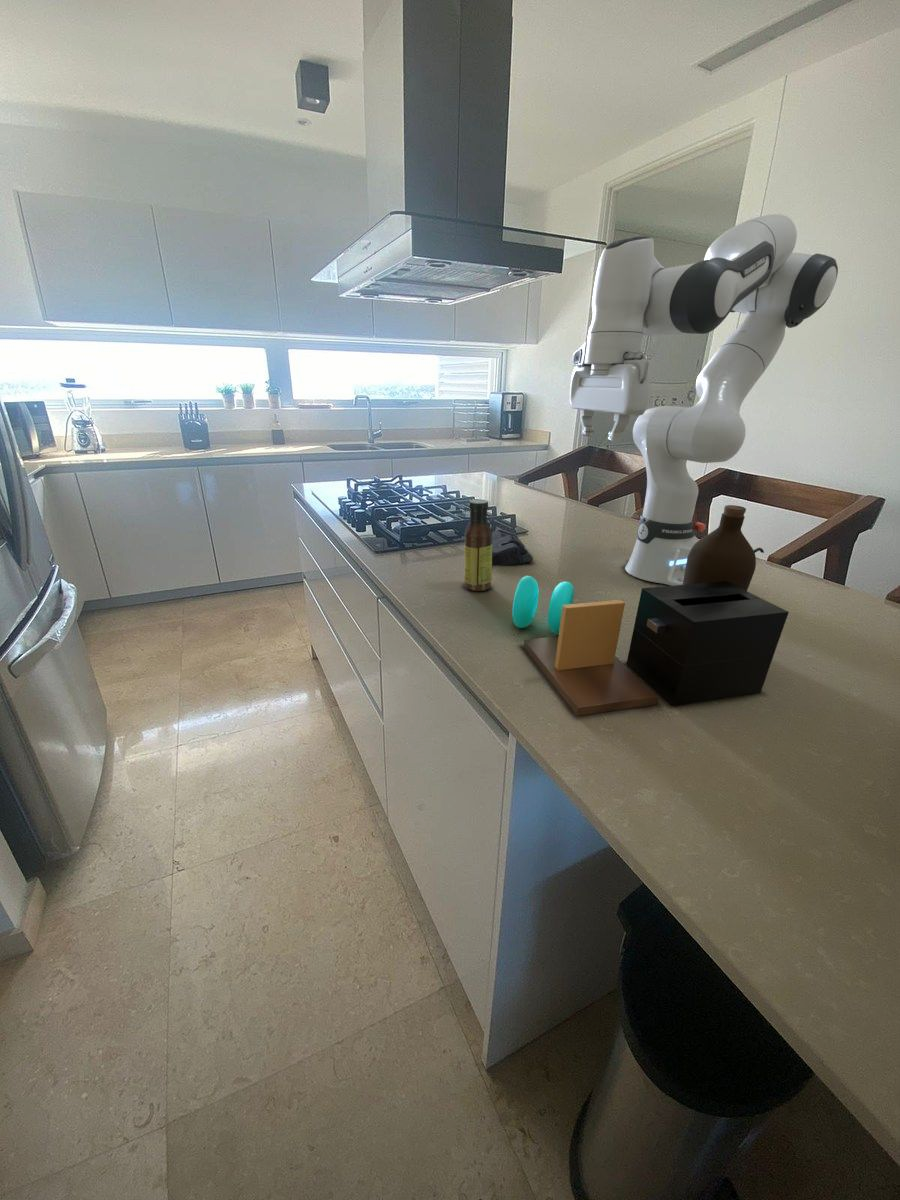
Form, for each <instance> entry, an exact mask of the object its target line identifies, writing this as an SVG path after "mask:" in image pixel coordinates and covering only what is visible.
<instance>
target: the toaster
mask: <svg viewBox="0 0 900 1200" xmlns="http://www.w3.org/2000/svg"><path fill="white" fill-rule="evenodd" d="M789 613H790V611H788V610H786V609H784V608H781V607H780V606H778V605H776V604H774V603H771V602H769V601H767V600H766V599H764V598H761V597H760V596H757V595H755V594H753V593H751V592H750V591H748V590H747V591H745V590H743V589H741V588H739V587H737V586H735V585H733V584H731V583H729V582H727V581H722V582H710V583H698V584H686V585H674V586H671V585H663V586H652V587H641V592H640V596H639V600H638V605H637V610H636V614H635V619H634V620H635V621H634V625H633V630H632V635H631V640H630V644H629V649H628V655H627V659H626V663H625V665H627V666H628V668H629V669H630V670H631V671H632V672H633V673H635V674H636V675H637V676H638V677H639V678H641V680H643V682H644V683H645V684H646V685H648V686H649V687H650V688H651V689H653V691H654V692H655V693H656V694H657V695H658V696H660V697H662V699H664V701H666V702H667V703H668V704H669V705H670V706H671V707H676V706H678V707H679V706H683V705H689V704H697V703H704V702H709V701H710V702H711V701H715V700H716V701H717V700H723V699H728V698H729V699H730V698H736V697H742V696H749V695H755V694H761V693H762V690H763V687H764V684H765V681H766V678H767V675H768V673H769V670H770V667H771V664H772V661H773V658H774V656H775V653H776V650H777V647H778V644H779V641H780V638H781V636H782V633H783V630H784V627H785V625H786V622H787V619H788V615H789Z"/></svg>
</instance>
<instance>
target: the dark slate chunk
mask: <svg viewBox="0 0 900 1200" xmlns="http://www.w3.org/2000/svg"><path fill="white" fill-rule="evenodd" d="M533 561H534V557H533V555H532V554H531V553H530V552H529V551H528V549H526V546H525V545H524V543H523V542H522V540H521V539H520V538H519V536H518V535H517V534H516V533H515V532H513V531H506V530H503V529H497V530H492V566H493V565H499V566H502V565H503V566H516V565H523V564H525V563H532V562H533Z"/></svg>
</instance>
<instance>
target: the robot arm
mask: <svg viewBox="0 0 900 1200" xmlns="http://www.w3.org/2000/svg"><path fill="white" fill-rule="evenodd" d="M797 233H798V231H797V227H796V225H795V223H794V221H793V220H792V218H790V217H789V216H786V215H784V214H780V213H775V214H765V215H760V216H756V217H753V218H750V219H747V220H745V221H743V222H741V223H738V224H737V225H734V226H732V227H730V228H729V229H728V230H726V231H724V232H723V233H721V234H720V235H719V236H718V237H717V238H716V239H715V240H714V241H713V242H712V243H711V244H710V245H709V247H708V248H707V250H706V252H705V255H704V258H703V260H700V261H698V262H692V263H689V264H682V265H677V266H671V267H665V266H663V265H662V264H661V263H660V262H659V261H658V259H657V258H656V256H655V243H654V239H653V237H650V236H646V235H640V236H633V237H629V238H623V239H620V240H616V241H612V242H610V243H609V244H608V245H607V246H605V247H604V249H603V250H602V252H601V255H600V258H599V260H598V264H597V269H596V273H595V278H594V284H593V291H592V300H591V309H592V318H591V323H590V326H589V328H588V332H587V341H585V342H584V343H583V344H582V345H581V346H580V347H579V348H578V349H577V350H576V351H575V352H573V354H572V356H571V357H572V358H571V365H572V366H574V368H573V370H572V374H571V379H570V386H569V387H570V388H569V404H570V408H571V409H574V410H580V413H579V418H580V423H581V434H580V435H581V436H583V437H586V438H587V437H588V438H590V437H591V438H592V437H593V436H594V433H595V432H594V431H595V426H593V417H594V416H595V412H596V413H597V412H598V413H604V414H605V413H606V414H614V416H613V421H614V424H613V427H612V429H611V430H609V431H608V437H607V441H608V442H609V443H616V444H618V443H621V442H622V439H623V433H624V431H625V430H626V428H627V426H628V424H629V422H630V420H631V419H630V418H631V416H637V418H636V420H635V421H634V424H633V428H632V439H633V442H634V445H635V446H636V447H637V449H638V450H639V451H640V453H641V456H642V458H643V461H644V465H645V471H646V491H645V498H644V503H643V509H642V510H643V511H642V514H641V515H640V517H639V519H638V520H639V521H638V525H637V533H636V534H637V536H636V539H635V544H634V546H633V550H632V552H631V555H630V557H629V559H628V562H627V564H626V565H625V567H624V570H625V572H627V573H628V574H629V575H631V576H632V577H634V578H638V579H640V580H642V581H647V582H652V583H658V584H663V585H666V586H674V585H683V579H684V573H685V568H686V562H687V557H688V554H689V552H690V550H691V549H692V547H693V546H694V544H695V543H696V542H698V541H699V540H700V539H698V537H697V536H696V531H698V532H699V533H704V531H705V530H706V528H707V525H706V524H705V523H703V522H700V521H697V522H695V521H694V520H693V517H694V513H695V509H696V504H697V500H698V496H699V485H698V483H697V482H696V481H695V480H694V479H693V478H692V476H691V475H690V473H689V471H688V467H687V461H689V462H695V463H702V464H714V463H724V462H727V461H729V460H731V459H732V458H733V457H735V455H736V454H738V452H739V451H740V450H741V448H742V447H743V446H744V445H743V444H744V442H745V439H746V432H747V431H746V425H745V422H744V419H743V417H742V416H741V414H740V410H741V406H742V404H743V402H744V400H745V399H746V398H747V396H748V394H749V393H750V391H751V390H752V389H753V388H754V386H755V385H756V384H757V382H758V381H759V379H760V378H761V377H762V376H763V374H764V373H765V372H766V370H767V368H768V367H769V366H770V364H771V363H772V362H773V360H774V358H775V357H776V355H777V353H778V351H779V349H780V348H781V345H782V343H783V341H784V339H785V335H786V327H787V328H789V329H792V328H796V327H798V326H799V325H801V324H802V323H803V321H804V320H806V319H809V318H810V317H812V315H814V314H815V313H817V312H818V311H819V310H820V309H821V308H822V307H823V306H825V304H826V303H827V301H828V299H829V298H830V296H831V294H832V292H833V291H834V287H835V285H836V283H837V278H838V273H839V267H838V263H837V261H836V259H835V258H833V257H832V256H829V255H826V254H822V253H814V254H810V253H802V252H794V249H795V247H796V243H797V238H798V237H797V236H798V234H797ZM730 313H740V314H745V318H744V320H743V322H742V323H740V324H739V325H738V326H737V327H736V329H734V330H733V331H732V332H731V333H730V334H729V335H728V336H727V338H726V339H725V340H724V341H723V343H721V345H720V346H719V347H718V349H717V350H716V351H715V352H714V354H713V355H712V357H711V358H709V360H708V361H707V363H706V364H705V366H704V367H703V368H702V370H701V371H700V372H699V374H698V375H697V377H696V381H695V392H696V394H697V396H698V398H699V401H698V402H697V403H696V404H694V405H692V406H676V405H661V406H655V407H651V408H648V405H649V399H650V391H651V390H650V389H651V369H650V360H649V358H648V356H647V355H646V352H645V351H641V349H642V343H643V337H644V336H656V335H659V336H660V335H661V336H662V335H672V334H673V335H676V334H690V335H691V334H695V335H696V334H697V335H698V334H699V335H704V334H705V335H706V334H709V333H711V332H713V331H715V330H716V329H717V328H718V327H719V325H721V324H722V323H723V322H724V320H725V319H726V318H727V317H728V315H730ZM753 550H754V552H755V554H756V553H757V552H760V553H761V554H763V553H765V550H764V549H763V548H762V547H756V548H755V549H753Z"/></svg>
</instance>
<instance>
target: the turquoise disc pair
mask: <svg viewBox="0 0 900 1200" xmlns="http://www.w3.org/2000/svg"><path fill="white" fill-rule="evenodd" d="M539 595H540V590H539V584H538V581H537V580H536V578H535V577H533V576H532V575H525V576H523V577H521V578H520V579H519V581H518V583H517V586H516V589H515V591H514V597H513V602H512V612H511V613H512V615H511V616H512V621H513V624H514V625H515V626H516V627H517V628H520V629H524V628H527V627H528V626H529V625H531V623H532V622H533V620H534V618H535V615H536V613H537V609H538V604H539V598H540V597H539ZM574 595H575V588H574V585H573V584H572V583H571V582H569V581H561V582H559V583H558V584H557V585H556V586H555V588H554V589H553V590H552V593H551V597H550V601H549V606H548V613H547V625H548V628H549V630H550V631H551V632H552V633H553V634H554V635H558V636H559V629H560V622H561V615H562V607H563V605H568V604H574Z"/></svg>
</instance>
